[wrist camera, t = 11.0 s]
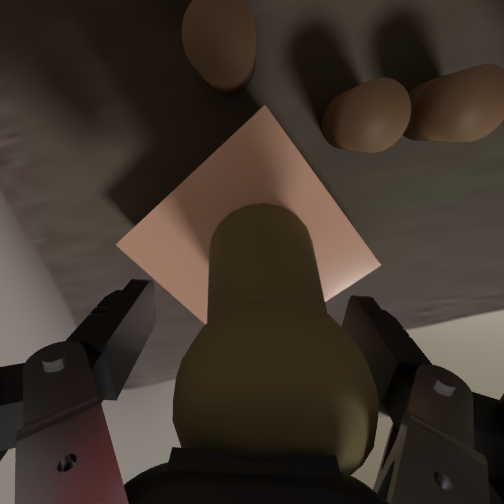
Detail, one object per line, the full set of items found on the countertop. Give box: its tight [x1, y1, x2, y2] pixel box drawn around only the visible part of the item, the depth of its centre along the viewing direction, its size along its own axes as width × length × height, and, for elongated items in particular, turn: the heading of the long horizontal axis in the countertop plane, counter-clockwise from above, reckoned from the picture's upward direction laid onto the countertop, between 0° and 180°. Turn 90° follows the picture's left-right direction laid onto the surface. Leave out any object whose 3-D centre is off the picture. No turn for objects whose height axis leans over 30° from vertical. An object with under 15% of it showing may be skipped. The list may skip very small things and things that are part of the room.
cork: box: [173, 203, 379, 475], centre depth 11 cm, size 6×6×11 cm
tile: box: [116, 105, 381, 325], centre depth 17 cm, size 11×11×3 cm
